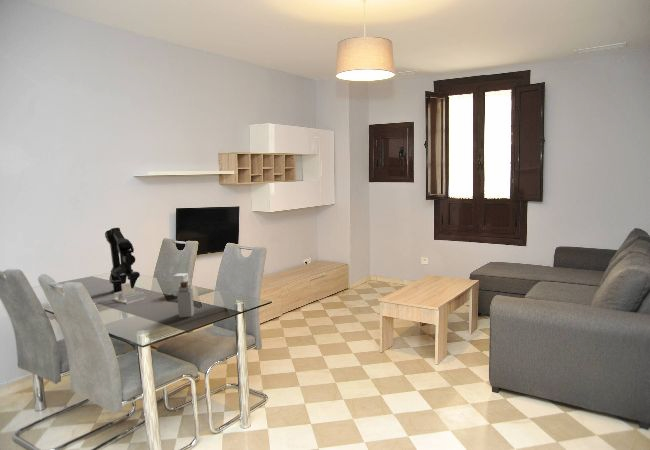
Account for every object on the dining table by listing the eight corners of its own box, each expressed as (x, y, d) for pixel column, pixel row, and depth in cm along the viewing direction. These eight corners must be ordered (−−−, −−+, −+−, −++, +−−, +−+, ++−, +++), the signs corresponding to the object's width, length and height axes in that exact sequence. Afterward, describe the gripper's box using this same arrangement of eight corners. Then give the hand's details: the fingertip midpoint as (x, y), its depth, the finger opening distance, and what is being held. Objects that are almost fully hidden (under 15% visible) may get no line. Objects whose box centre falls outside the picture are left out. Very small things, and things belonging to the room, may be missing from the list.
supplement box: (184, 296, 301) (183, 276, 300) (173, 296, 303) (171, 275, 301) (190, 292, 309) (188, 273, 307) (179, 292, 310) (177, 272, 308)
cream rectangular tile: (122, 298, 297) (121, 284, 295) (133, 295, 302) (132, 281, 301) (124, 299, 295) (123, 284, 294) (135, 296, 301) (134, 282, 299)
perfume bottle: (181, 313, 269) (179, 281, 266) (194, 312, 269) (191, 280, 267) (178, 317, 262) (176, 284, 260) (191, 316, 263) (189, 283, 260)
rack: (113, 299, 299) (112, 293, 298) (131, 294, 308) (131, 288, 307) (126, 303, 289) (126, 297, 289) (145, 298, 299) (144, 292, 298)
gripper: (104, 262, 295) (107, 288, 297) (121, 266, 283) (124, 292, 286) (122, 259, 304) (124, 283, 306) (139, 262, 292) (141, 288, 294)
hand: (128, 287), depth 298 cm, fingers open, 9 cm apart
